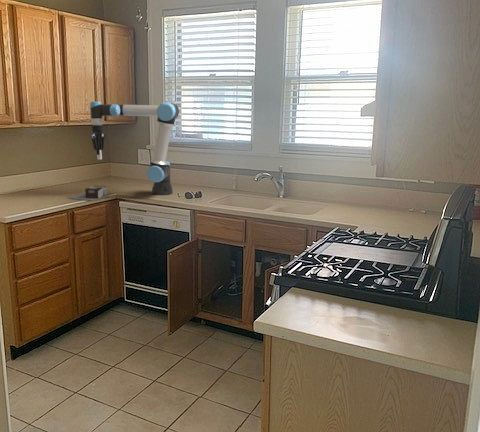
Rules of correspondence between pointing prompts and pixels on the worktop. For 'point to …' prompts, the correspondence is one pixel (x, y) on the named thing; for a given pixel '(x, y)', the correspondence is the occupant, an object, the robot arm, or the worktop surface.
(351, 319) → the worktop surface
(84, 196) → the mat
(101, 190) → the coffee box
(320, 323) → the worktop surface
